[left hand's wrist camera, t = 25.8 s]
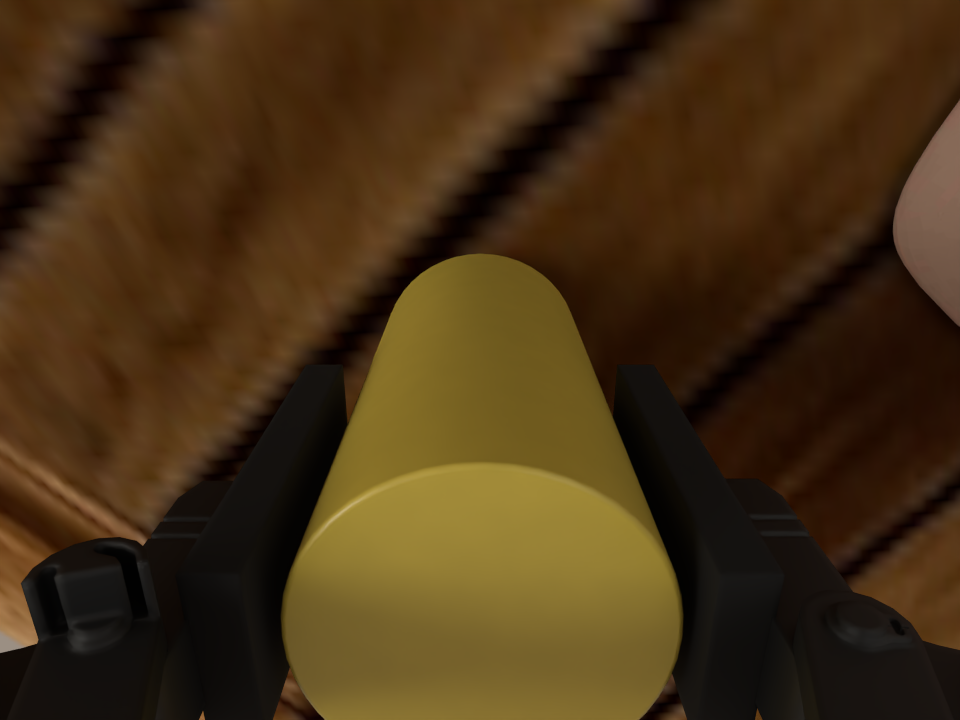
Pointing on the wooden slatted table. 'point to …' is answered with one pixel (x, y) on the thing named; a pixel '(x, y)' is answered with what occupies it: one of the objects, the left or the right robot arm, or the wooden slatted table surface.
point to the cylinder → (481, 525)
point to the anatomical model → (934, 218)
